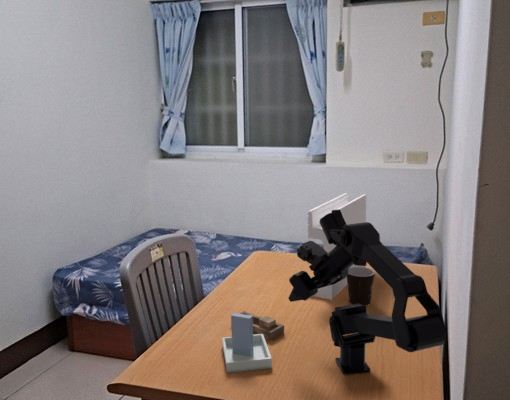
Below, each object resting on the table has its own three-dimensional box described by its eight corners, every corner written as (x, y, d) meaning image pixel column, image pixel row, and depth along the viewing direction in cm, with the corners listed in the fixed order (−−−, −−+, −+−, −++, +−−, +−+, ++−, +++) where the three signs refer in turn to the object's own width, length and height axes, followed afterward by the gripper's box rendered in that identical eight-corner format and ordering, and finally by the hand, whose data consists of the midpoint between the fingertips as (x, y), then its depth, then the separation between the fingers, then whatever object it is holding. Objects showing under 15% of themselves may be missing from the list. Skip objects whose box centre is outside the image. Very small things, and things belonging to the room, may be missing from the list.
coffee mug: (353, 294, 153) (354, 265, 151) (378, 301, 148) (379, 270, 146) (335, 306, 144) (335, 275, 142) (361, 313, 139) (362, 281, 137)
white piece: (331, 299, 150) (332, 213, 144) (308, 295, 154) (307, 211, 148) (364, 267, 179) (366, 194, 174) (344, 264, 183) (345, 193, 178)
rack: (284, 333, 127) (284, 325, 127) (271, 341, 124) (271, 332, 123) (244, 319, 137) (244, 311, 137) (231, 325, 133) (231, 317, 133)
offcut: (275, 327, 127) (275, 319, 127) (268, 330, 125) (268, 322, 125) (266, 323, 130) (265, 315, 129) (259, 326, 128) (258, 319, 127)
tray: (272, 368, 111) (271, 358, 110) (226, 372, 109) (226, 363, 109) (263, 342, 123) (262, 333, 123) (222, 346, 122) (222, 337, 121)
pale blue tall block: (253, 353, 117) (252, 315, 115) (251, 356, 115) (249, 318, 113) (235, 350, 118) (233, 312, 117) (232, 353, 117) (231, 315, 115)
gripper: (338, 225, 120) (302, 259, 129) (295, 241, 106) (258, 278, 115) (365, 260, 116) (327, 293, 125) (325, 282, 102) (285, 317, 111)
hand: (300, 294), depth 119 cm, fingers open, 9 cm apart
